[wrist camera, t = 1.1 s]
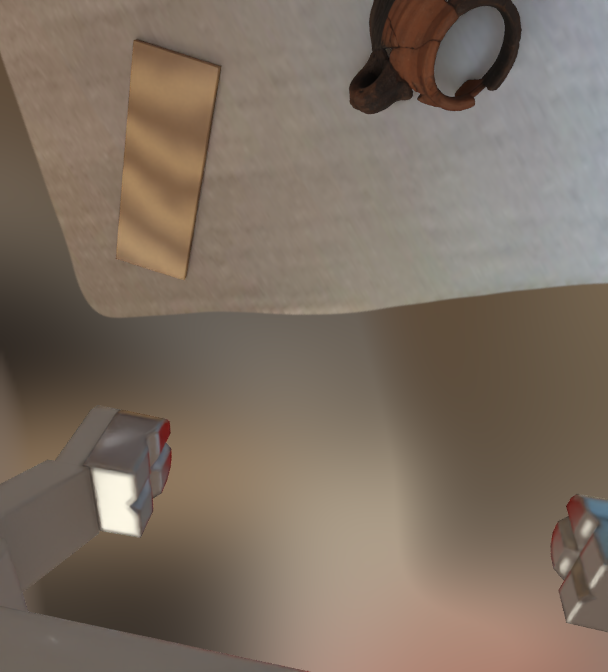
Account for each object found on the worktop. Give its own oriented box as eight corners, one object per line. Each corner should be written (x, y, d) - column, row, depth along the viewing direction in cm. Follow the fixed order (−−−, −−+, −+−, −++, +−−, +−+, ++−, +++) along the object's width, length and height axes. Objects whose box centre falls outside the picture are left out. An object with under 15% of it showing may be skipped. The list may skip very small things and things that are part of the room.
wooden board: (136, 39, 45) (133, 40, 45) (221, 66, 45) (219, 67, 45) (118, 256, 57) (115, 258, 56) (186, 277, 57) (184, 280, 56)
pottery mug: (434, -87, 38) (505, -63, 33) (485, 24, 45) (551, 59, 40) (302, 48, 41) (347, 91, 36) (369, 134, 48) (415, 181, 43)
